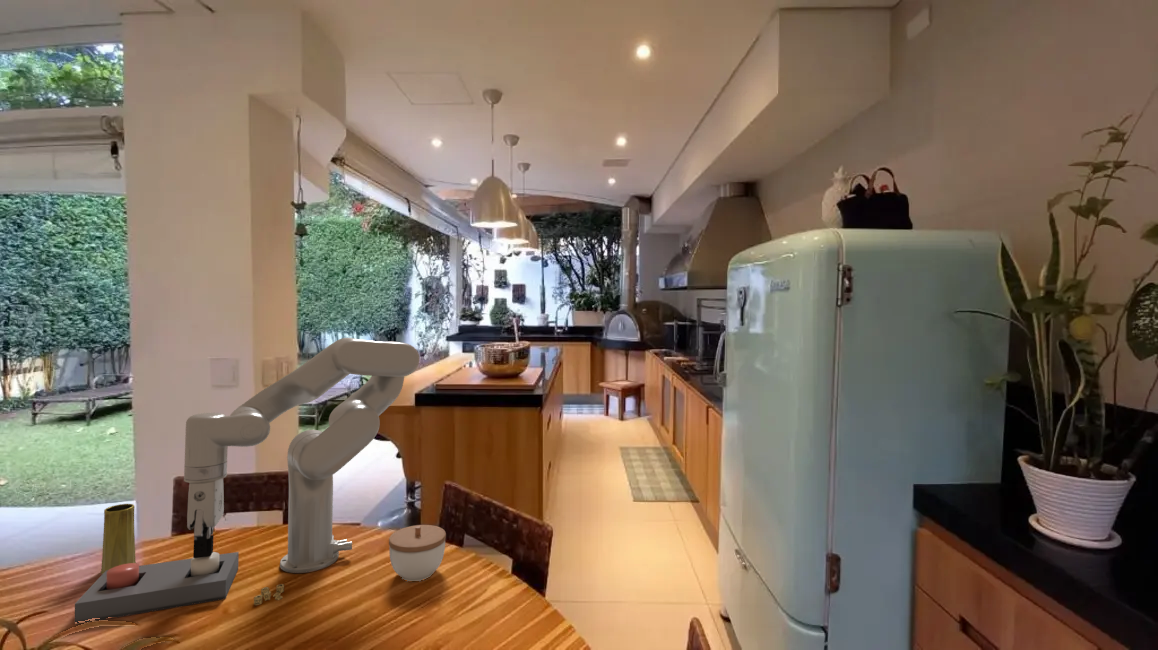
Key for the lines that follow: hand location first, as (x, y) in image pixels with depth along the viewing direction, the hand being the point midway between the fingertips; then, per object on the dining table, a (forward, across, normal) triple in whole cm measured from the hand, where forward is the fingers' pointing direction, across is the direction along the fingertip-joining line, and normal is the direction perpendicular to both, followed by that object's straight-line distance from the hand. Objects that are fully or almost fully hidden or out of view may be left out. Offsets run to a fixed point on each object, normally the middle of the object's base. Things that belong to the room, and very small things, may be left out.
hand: (203, 555), depth 112 cm
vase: (+8, +17, +20) cm, 27 cm away
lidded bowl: (+7, -11, -44) cm, 45 cm away
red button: (+4, 0, +14) cm, 14 cm away
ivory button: (+4, 0, 0) cm, 4 cm away
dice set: (+8, -9, -14) cm, 18 cm away
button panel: (+7, 0, +6) cm, 10 cm away
